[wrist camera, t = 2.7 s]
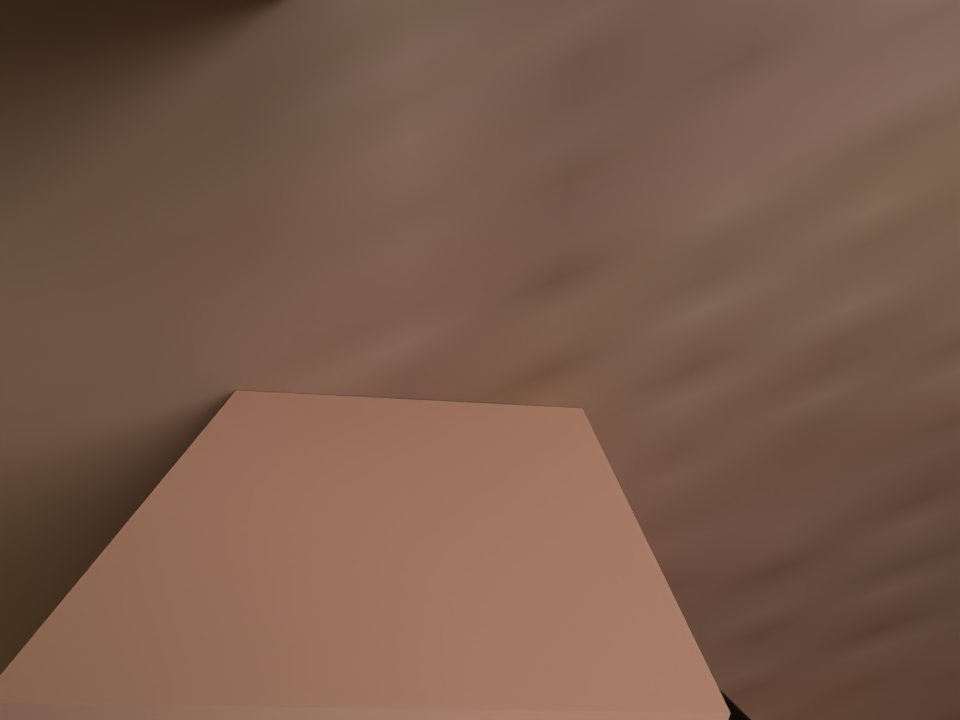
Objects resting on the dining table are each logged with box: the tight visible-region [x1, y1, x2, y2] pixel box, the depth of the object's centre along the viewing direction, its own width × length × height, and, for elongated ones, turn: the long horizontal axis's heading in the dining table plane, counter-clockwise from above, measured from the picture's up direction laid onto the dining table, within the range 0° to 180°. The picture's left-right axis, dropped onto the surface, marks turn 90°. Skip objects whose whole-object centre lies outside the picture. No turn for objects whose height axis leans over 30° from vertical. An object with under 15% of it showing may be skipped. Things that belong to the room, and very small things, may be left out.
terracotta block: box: [0, 390, 731, 720], centre depth 7 cm, size 5×5×5 cm
